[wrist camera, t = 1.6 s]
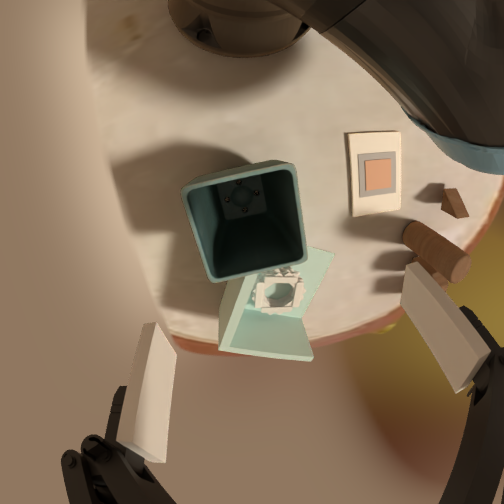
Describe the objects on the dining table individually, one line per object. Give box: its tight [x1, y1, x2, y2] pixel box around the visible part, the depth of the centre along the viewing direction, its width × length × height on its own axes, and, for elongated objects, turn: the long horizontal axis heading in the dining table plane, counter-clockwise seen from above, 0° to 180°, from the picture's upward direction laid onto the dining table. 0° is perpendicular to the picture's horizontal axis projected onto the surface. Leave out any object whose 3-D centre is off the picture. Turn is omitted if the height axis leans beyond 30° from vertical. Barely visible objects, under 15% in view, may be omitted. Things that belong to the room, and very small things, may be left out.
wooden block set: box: [403, 188, 471, 292], centre depth 30 cm, size 18×9×10 cm, turn 5°
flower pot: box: [181, 160, 308, 283], centre depth 25 cm, size 9×9×9 cm
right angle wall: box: [218, 246, 335, 361], centre depth 32 cm, size 12×12×8 cm
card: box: [348, 131, 401, 217], centre depth 29 cm, size 10×7×1 cm
